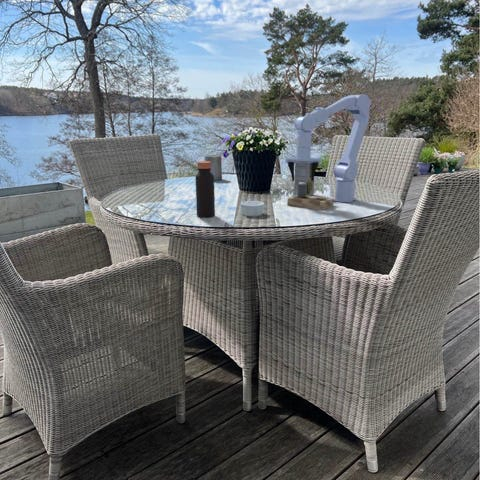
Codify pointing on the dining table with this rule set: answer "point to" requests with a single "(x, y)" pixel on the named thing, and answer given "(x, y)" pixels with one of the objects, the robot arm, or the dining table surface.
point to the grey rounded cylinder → (301, 190)
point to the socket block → (311, 202)
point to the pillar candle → (215, 166)
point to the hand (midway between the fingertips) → (302, 180)
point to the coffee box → (304, 177)
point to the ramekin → (252, 208)
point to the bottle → (205, 190)
